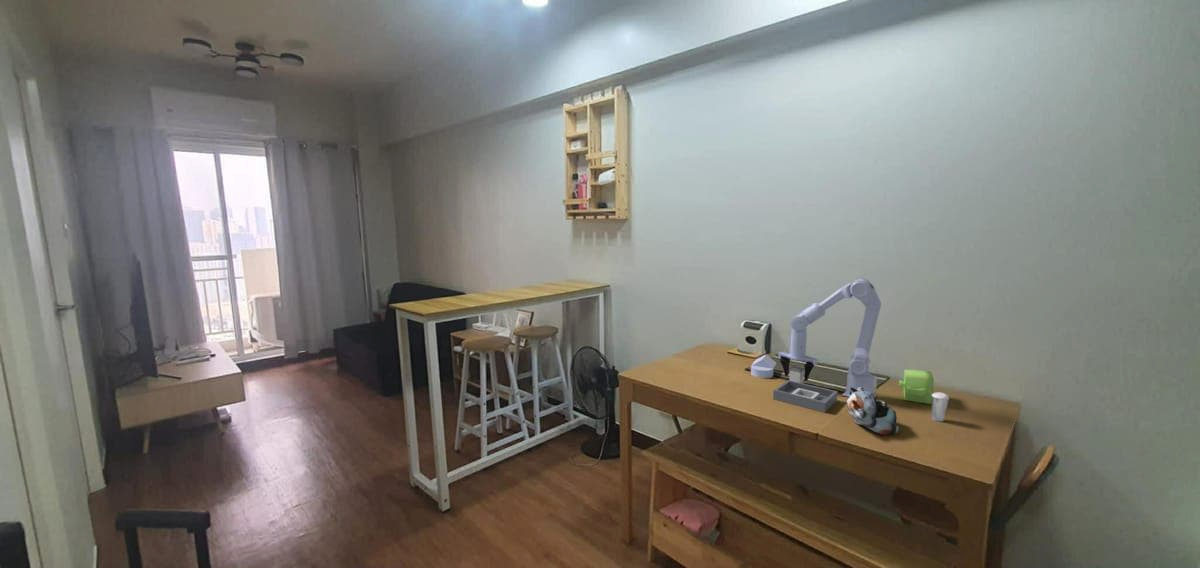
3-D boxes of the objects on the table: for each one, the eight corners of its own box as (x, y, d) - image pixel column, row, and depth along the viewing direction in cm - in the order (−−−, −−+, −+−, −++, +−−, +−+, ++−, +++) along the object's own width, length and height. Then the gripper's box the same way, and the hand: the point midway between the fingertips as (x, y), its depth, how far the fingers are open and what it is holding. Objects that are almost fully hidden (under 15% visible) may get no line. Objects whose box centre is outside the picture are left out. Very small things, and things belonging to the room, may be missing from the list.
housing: (837, 400, 168) (837, 391, 167) (824, 412, 158) (825, 403, 157) (787, 388, 180) (788, 380, 179) (773, 399, 170) (773, 390, 169)
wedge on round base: (755, 367, 206) (748, 376, 195) (755, 352, 205) (749, 360, 194) (776, 370, 201) (771, 379, 190) (776, 355, 200) (771, 364, 189)
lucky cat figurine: (899, 440, 138) (880, 402, 136) (857, 444, 145) (838, 408, 143) (899, 409, 149) (882, 374, 147) (860, 414, 157) (843, 380, 155)
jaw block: (803, 384, 184) (804, 368, 183) (799, 387, 181) (800, 370, 180) (792, 382, 186) (793, 366, 185) (789, 385, 183) (789, 368, 182)
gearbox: (898, 388, 181) (898, 364, 180) (928, 391, 176) (929, 367, 175) (899, 403, 165) (900, 377, 164) (933, 407, 160) (934, 381, 159)
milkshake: (927, 414, 155) (929, 386, 154) (946, 419, 152) (949, 390, 150) (925, 419, 152) (928, 390, 150) (946, 423, 148) (949, 394, 147)
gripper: (776, 343, 183) (774, 376, 185) (813, 350, 173) (811, 384, 175) (782, 340, 188) (781, 371, 190) (820, 346, 178) (817, 380, 180)
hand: (796, 377), depth 183 cm, fingers open, 7 cm apart
